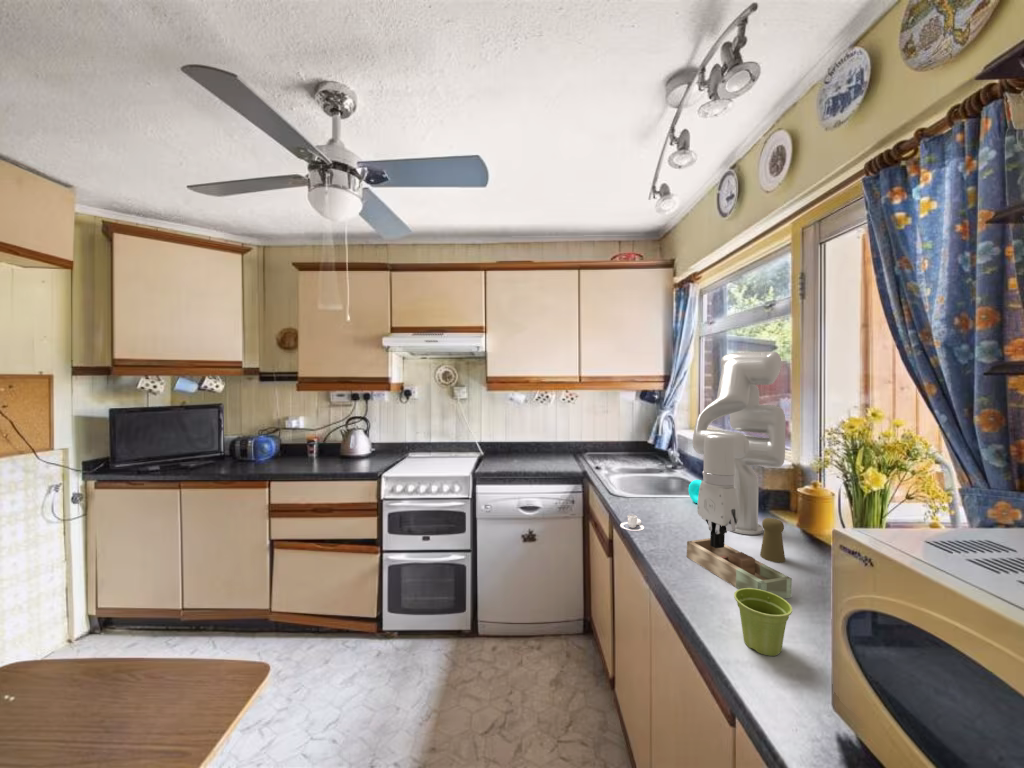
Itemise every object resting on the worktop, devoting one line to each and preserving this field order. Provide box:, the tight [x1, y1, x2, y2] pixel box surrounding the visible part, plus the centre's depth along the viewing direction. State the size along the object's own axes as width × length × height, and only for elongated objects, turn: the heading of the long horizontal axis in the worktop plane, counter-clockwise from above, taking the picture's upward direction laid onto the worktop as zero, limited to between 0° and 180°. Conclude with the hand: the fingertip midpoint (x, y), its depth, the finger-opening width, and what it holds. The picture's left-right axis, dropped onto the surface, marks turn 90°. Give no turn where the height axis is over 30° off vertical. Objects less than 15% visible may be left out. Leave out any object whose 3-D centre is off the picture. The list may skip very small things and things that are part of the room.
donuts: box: [687, 479, 702, 505], centre depth 161 cm, size 10×10×10 cm
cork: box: [759, 517, 786, 564], centre depth 112 cm, size 6×6×11 cm
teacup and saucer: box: [619, 514, 645, 532], centre depth 136 cm, size 9×8×4 cm
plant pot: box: [733, 588, 793, 657], centre depth 75 cm, size 9×9×9 cm
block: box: [729, 551, 756, 575], centre depth 100 cm, size 4×4×4 cm
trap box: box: [686, 537, 793, 600], centre depth 102 cm, size 24×9×4 cm, turn 16°
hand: (717, 546), depth 107 cm, fingers closed
